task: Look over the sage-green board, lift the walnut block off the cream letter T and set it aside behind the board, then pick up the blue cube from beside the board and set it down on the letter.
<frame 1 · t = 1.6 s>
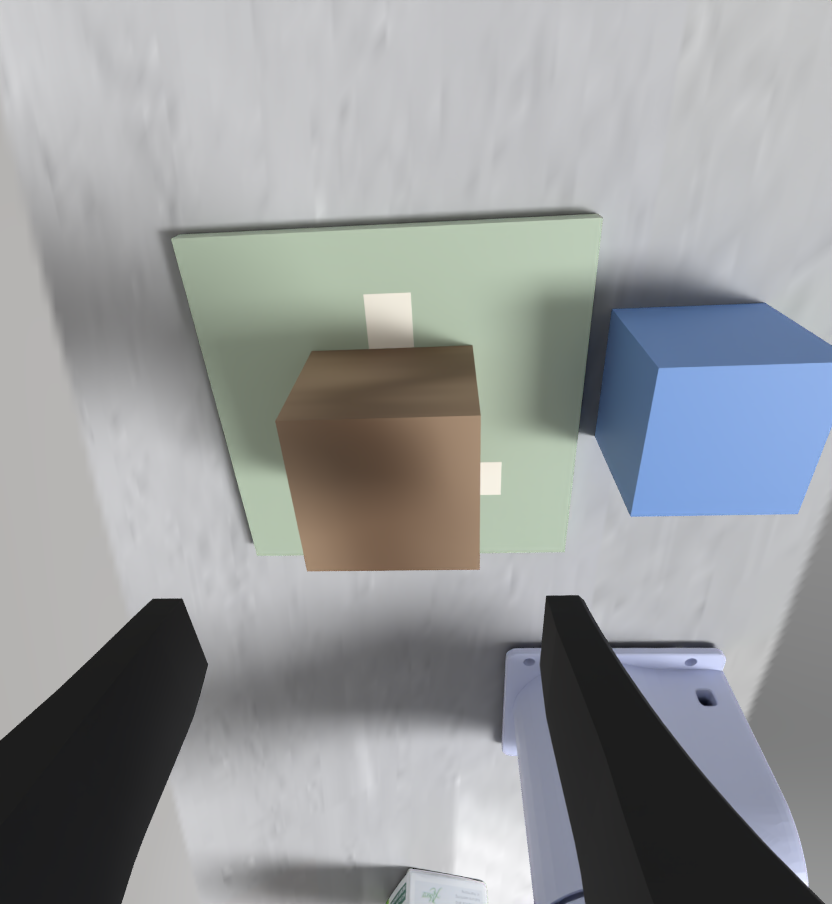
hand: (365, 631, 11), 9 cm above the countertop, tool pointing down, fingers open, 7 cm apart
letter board: (398, 410, 19), on the countertop
walnut block: (397, 419, 19), point 1 cm above the countertop, touching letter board
syrup box: (436, 886, 40), on the countertop
blue cube: (672, 373, 18), on the countertop
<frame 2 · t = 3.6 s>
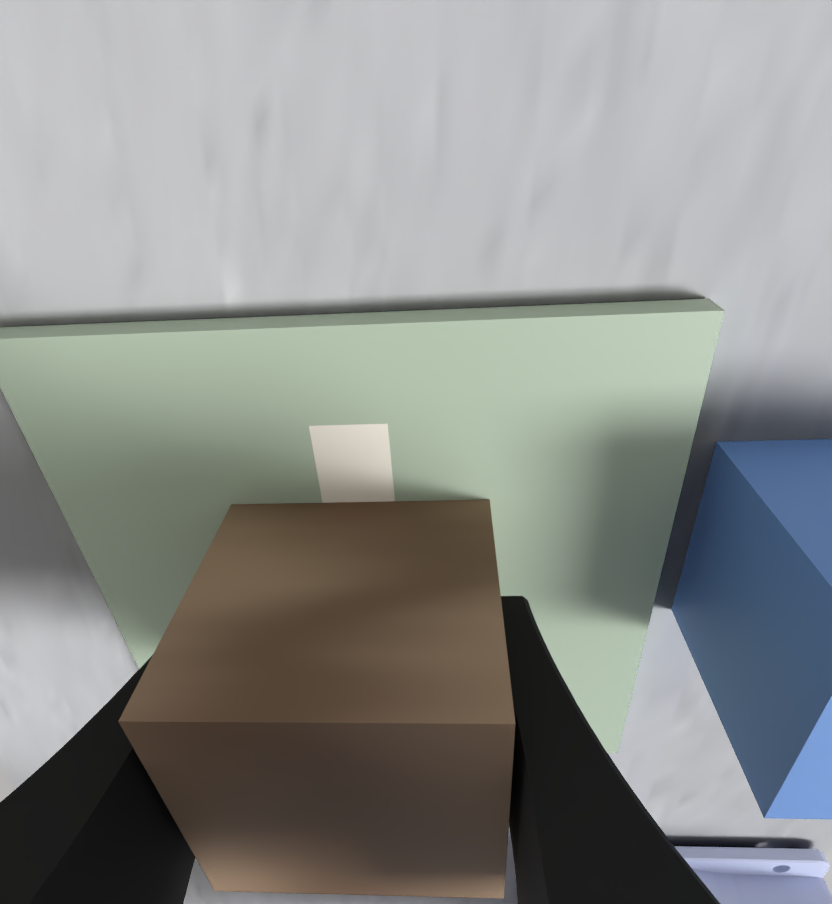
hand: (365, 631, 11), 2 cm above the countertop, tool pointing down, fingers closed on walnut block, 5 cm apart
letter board: (374, 574, 13), on the countertop
walnut block: (371, 594, 12), point 1 cm above the countertop, touching gripper, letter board
blue cube: (802, 530, 12), on the countertop
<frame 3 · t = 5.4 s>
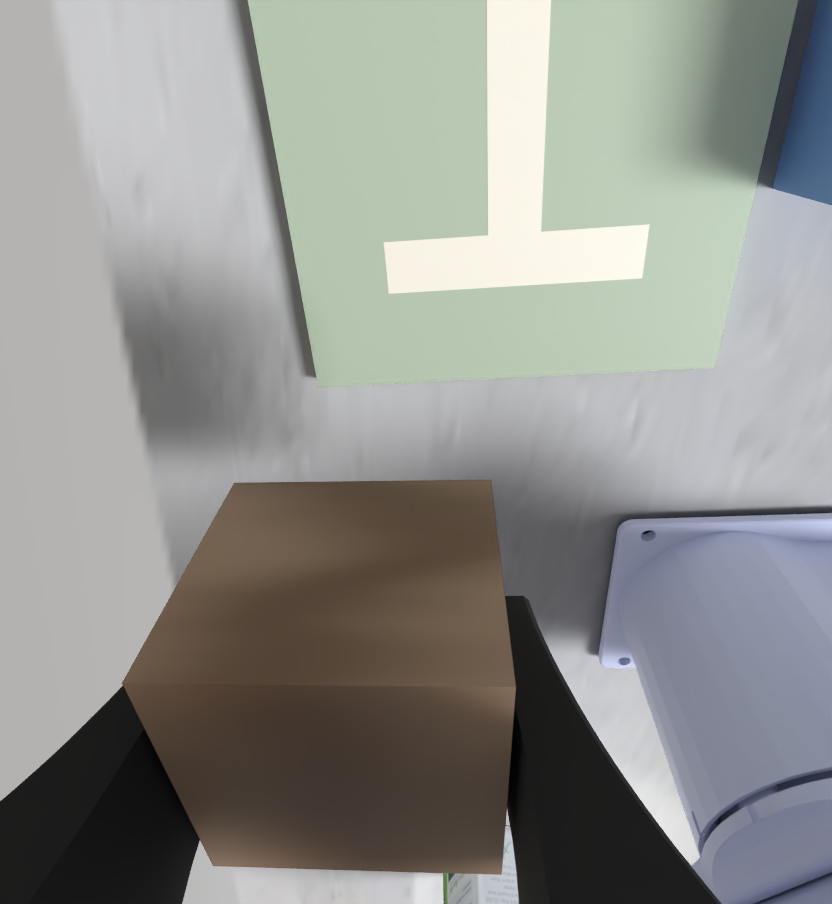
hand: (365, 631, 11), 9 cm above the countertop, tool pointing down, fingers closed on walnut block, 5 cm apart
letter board: (513, 155, 14), on the countertop
walnut block: (371, 576, 12), point 8 cm above the countertop, touching gripper
syrup box: (501, 844, 35), on the countertop
when the fingers open (2 cm above the countertop, at t = 7.4 s): walnut block drops 1 cm, on the countertop.
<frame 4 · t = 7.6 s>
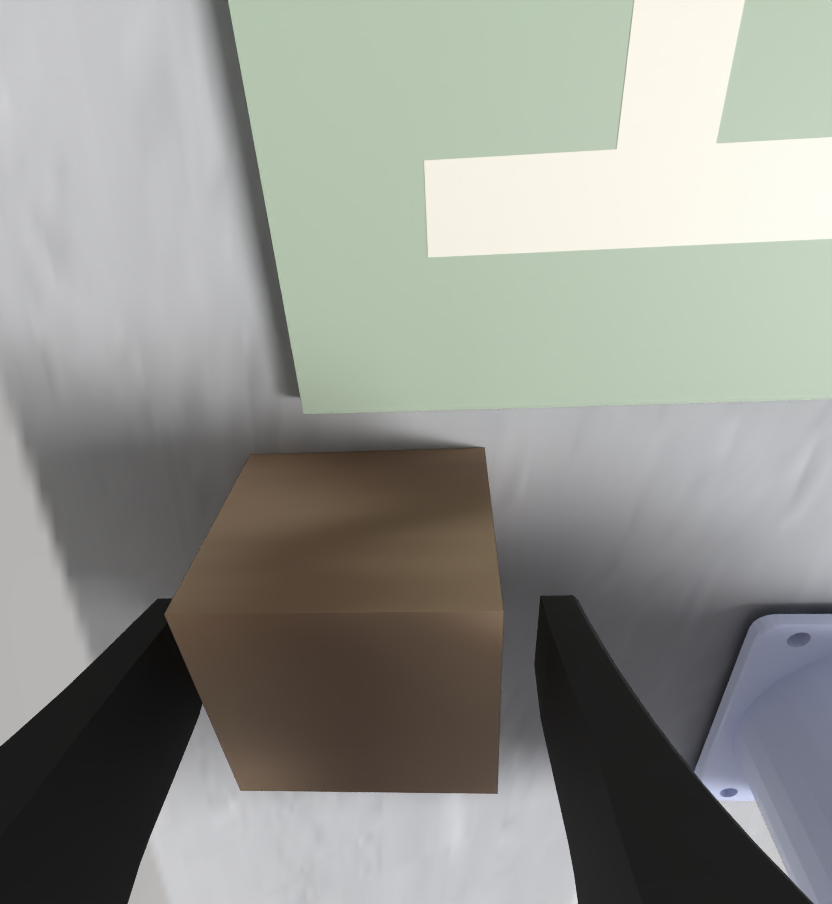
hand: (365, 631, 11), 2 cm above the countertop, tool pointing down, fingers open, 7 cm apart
walnut block: (377, 538, 13), on the countertop
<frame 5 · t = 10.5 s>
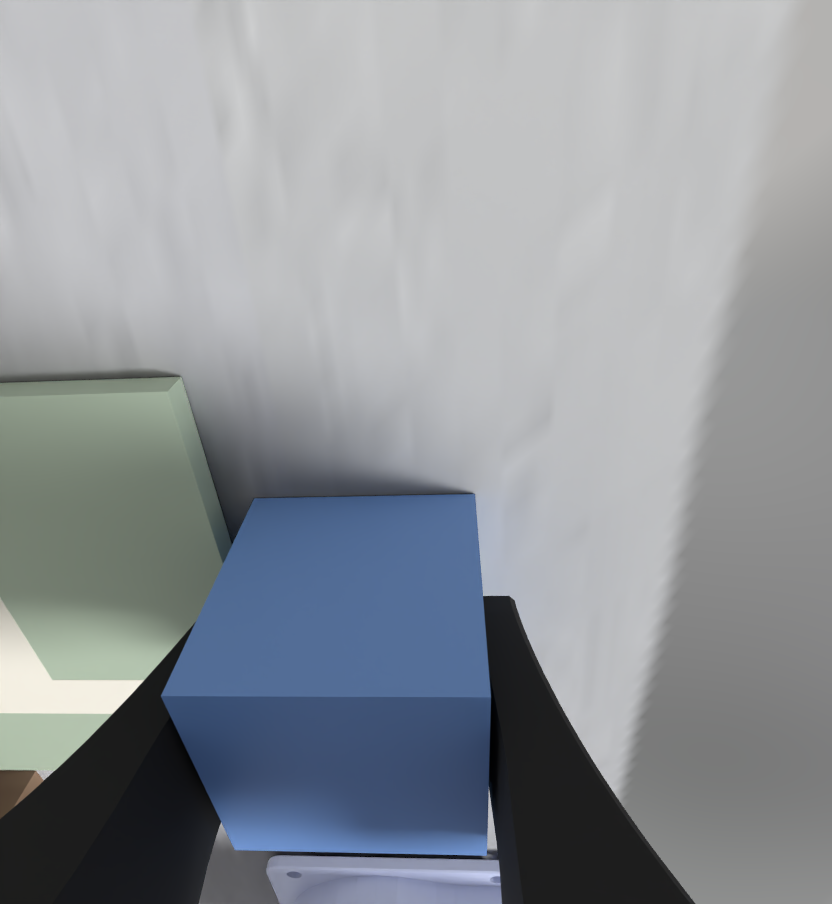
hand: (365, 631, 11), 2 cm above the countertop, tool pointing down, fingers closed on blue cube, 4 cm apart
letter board: (9, 611, 14), on the countertop
blue cube: (373, 577, 13), on the countertop, touching gripper
when the fingers open (3 cm above the countertop, at t = 13.7 s): blue cube stays where it is, resting on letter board.
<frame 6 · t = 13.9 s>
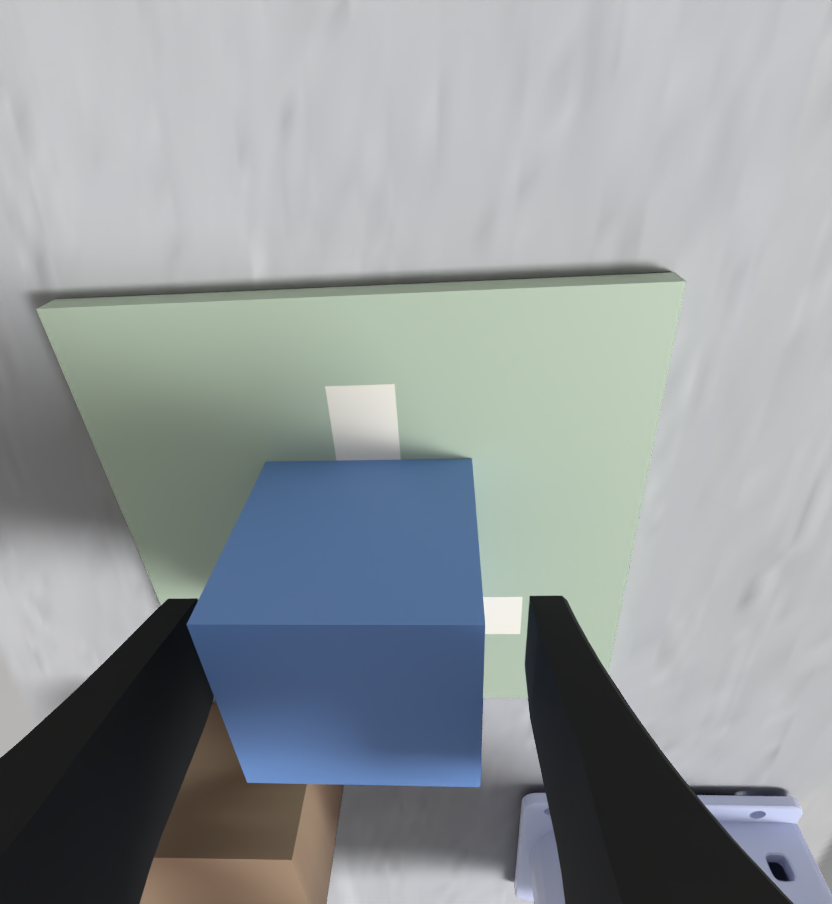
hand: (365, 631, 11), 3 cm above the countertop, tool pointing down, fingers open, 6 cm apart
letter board: (380, 528, 14), on the countertop
walnut block: (263, 744, 20), on the countertop
blue cube: (376, 539, 13), point 1 cm above the countertop, touching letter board
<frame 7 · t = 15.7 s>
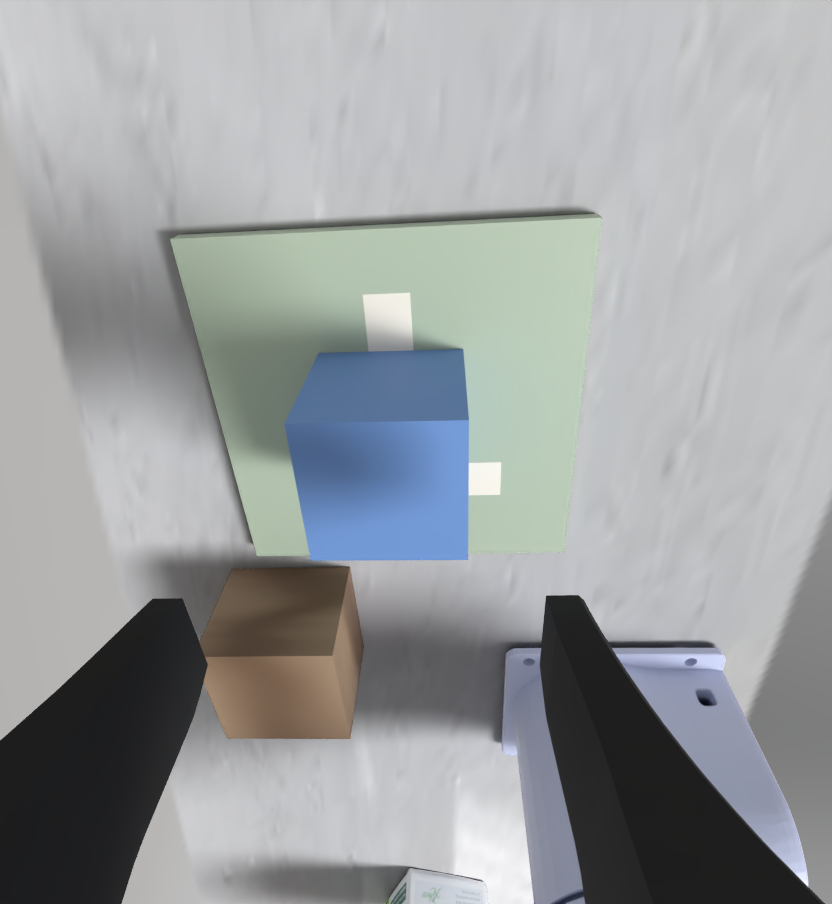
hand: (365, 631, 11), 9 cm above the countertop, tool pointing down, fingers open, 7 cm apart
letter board: (397, 410, 19), on the countertop
walnut block: (301, 607, 25), on the countertop
syrup box: (436, 886, 40), on the countertop
blue cube: (395, 415, 19), point 1 cm above the countertop, touching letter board
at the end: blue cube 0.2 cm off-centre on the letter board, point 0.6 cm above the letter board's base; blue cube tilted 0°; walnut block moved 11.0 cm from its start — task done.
